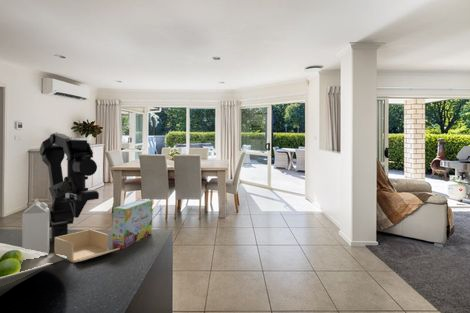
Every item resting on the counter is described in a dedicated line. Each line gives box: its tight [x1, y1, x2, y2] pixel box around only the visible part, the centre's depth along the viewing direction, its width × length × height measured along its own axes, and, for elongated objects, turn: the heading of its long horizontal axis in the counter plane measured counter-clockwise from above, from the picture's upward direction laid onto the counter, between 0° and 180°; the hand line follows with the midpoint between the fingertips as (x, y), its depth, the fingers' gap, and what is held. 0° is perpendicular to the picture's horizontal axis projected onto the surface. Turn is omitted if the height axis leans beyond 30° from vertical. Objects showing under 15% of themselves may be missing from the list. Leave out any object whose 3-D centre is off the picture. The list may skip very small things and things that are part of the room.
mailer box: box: [54, 228, 109, 263], centre depth 106 cm, size 11×13×6 cm
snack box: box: [111, 198, 153, 250], centre depth 122 cm, size 21×6×15 cm, turn 168°
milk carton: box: [21, 197, 50, 254], centre depth 104 cm, size 7×7×19 cm
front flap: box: [72, 248, 120, 263], centre depth 101 cm, size 1×13×6 cm
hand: (76, 217), depth 108 cm, fingers closed
